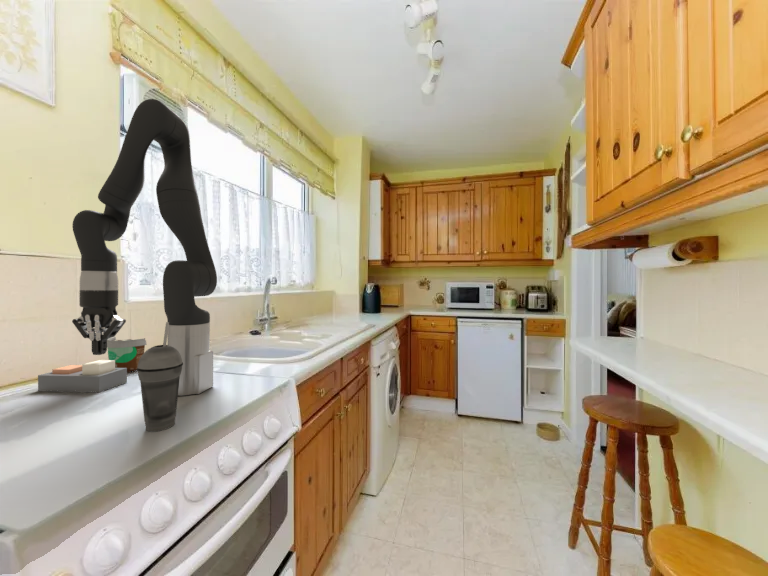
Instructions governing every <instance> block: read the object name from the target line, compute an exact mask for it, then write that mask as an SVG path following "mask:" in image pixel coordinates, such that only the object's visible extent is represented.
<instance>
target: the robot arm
mask: <svg viewBox="0 0 768 576" xmlns="http://www.w3.org/2000/svg"><path fill="white" fill-rule="evenodd" d="M190 137H191V136H190V131H189V128H188V125H187V124H186V122H185V121H184V119H183V118H182V117H180V116H179V115H178V114H177V113H176V112H174V111H173V110H172V109H171V108H170V107H169V106H167V105H166V104H165V103H163V102H162V101H160V100H158V99H156V98H155V99H154V98H148V99H145V100H143V101H142V102H140V104H139V105H137V107H136V109H135V111H134V112H133V115H132V117H131V120H130V122H129V125H128V128H127V131H126V133H125V137H124V139H123V142H122V145H121V148H120V151H119V155H118V157H117V160H116V161H115V164H114V167H113V169H112V170H111V172H110V174H109V175H108V177H107V178H106V180H105V182H104V183H103V185H102V187H101V189H100V190H99V192H98V195H97V199H98V200H99V202H101V204H103V205H104V211H103V213H102V212H98V211H95V210H92V209H91V210H90V209H88V210H87V209H84V210H81V211H79V212H78V213H77V214H76V215H75V216H74V218H73V220H72V232H73V236H74V238H75V241H76V245H77V248H78V250H79V252H80V255H81V256H80V257H81V258H80V259H81V260H80V270H81V271H80V276H79V307H80V308H82V310H81V312H80V316H79V317H78V318H74V319H72V324H73V325H74V327H75V329H76V330H77V331H78V333H80V335H81V336H82V337H83V338H84V339H89V340H90V341H91V353H92V355H93V356H100V355H105V354H106V353H107V352H108V349H107V339H109V338H113V337H116V335H117V334H118V333H119V332H120V330H121V329H122V328H123V326H124V325H125V323H126V322H127V320H126V318H121V317H120V316H118V311H117V310H116V308H117V306H118V305H119V278H118V255H117V253H116V252H115V251H114V250H112V249H109V247H107V245H106V244H107V243H106V242H114V241H116V240H119V239H120V238H121V237H123V235H124V234H125V232H126V230H127V227H128V223H129V219H130V216H131V215H130V214H131V209H132V207H133V205H134V204H135V202H136V201H137V199H138V197H139V196H140V194H141V192H142V190H143V188H144V186H145V180H146V179H145V178H146V173H145V171H146V169H145V168H146V158H147V157H146V156H147V153H148V150H149V148H150V146H151V144H152V142H153V141H155V142H156V143H157V144H158V145H159V146H160V148H161V152H162V156H163V157H162V158H163V161H164V162H163V163H164V167H163V170H162V172H161V174H160V176H159V178H158V180H157V183H156V188H155V190H156V191H155V192H156V198H157V204H158V210H159V213H160V216H161V218H162V219H163V221H164V223H165V224H166V225H167V227H168V229H170V232H172V233H173V235H174V236H175V237H176V238H177V240H178V241H179V242H180V245H181V246H182V248H183V252H184V254H185V257H186V260H183V259H182V260H181V259H180V260H177V259H176V260H172V261H171V262H169V263H168V264H167V265H166V267H165V268H164V271H163V275H162V289H163V290H162V293H163V308H164V313H165V316H166V318H167V322H169V327H168V335H167V343H166V345H169V346H172V347H174V348H175V349H177V350H178V351H179V353H180V355H181V357H182V362H183V365H182V371H181V375H180V379H179V389H178V396H188V395H189V396H190V395H195V394H196V395H199V394H202V393H204V392H205V391H207V390H208V389H210V388H212V387H214V351H213V350H210V349H211V348H210V346H211V345H210V341H211V339H210V337H211V335H210V334H211V333H210V331H211V329H210V328H211V323H210V322H211V317H210V316H211V315H210V312H209V311H207V310H205V309H202V308H201V307H199V306H197V304H196V301H195V297H197V298H198V297H207V296H210V295H212V294H213V293H214V292H215V291H216V288H217V286H218V284H217V283H218V275H217V270H216V269H217V268H216V267H215V264H214V260H213V257H212V254H211V250H210V247H209V244H208V239H207V236H206V232H205V227H204V222H203V217H202V212H201V204H200V200H199V194H198V190H197V187H196V181H195V175H194V170H193V164H192V155H191V140H190V139H191V138H190Z"/></svg>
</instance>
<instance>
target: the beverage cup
mask: <svg viewBox="0 0 768 576" xmlns="http://www.w3.org/2000/svg"><path fill="white" fill-rule="evenodd" d="M168 327H169V322H168V321H165V326H164V336H163V341H162V342H163V343H162V344H159V345H153V346H151V347H150V348H148V349H147V350H144V354H143V355H142V356H141V358H140V360H139V363H138V367H137V371H136V372H137V376H138V379H139V382H140V390H141V401H142V410H143V419H144V424H145V425H144V426H145V430H146V432H160V431H165V430H168V429H169V428H171V427H173V426H174V425H175V423H176V422H175V420H176V417H177V409H178V408H177V407H178V398H179V397H178V389H179V379H180V375H181V371H182V365H183V362H182V357H181V355H180V353H179V351H178V350H177V349H175V348H174V347H172V346H169V345H167V343H168Z"/></svg>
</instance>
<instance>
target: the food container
mask: <svg viewBox="0 0 768 576" xmlns="http://www.w3.org/2000/svg"><path fill="white" fill-rule="evenodd" d="M145 346H147V340H146V338H138V339H132V338H131V339H130V338H129V339H117V338H116V336H114V337H111V338H109V339H107V355H108V357H107V358H108V360H115V368H127V373H132V372H131V371H133V372H137V371H136V370H137V367H138V363H139V360H140V358H141V356H142V355H143V354H144V353H145Z"/></svg>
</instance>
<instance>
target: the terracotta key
mask: <svg viewBox="0 0 768 576" xmlns="http://www.w3.org/2000/svg"><path fill="white" fill-rule="evenodd" d="M80 371H82V364H70V365H65V366H61V367H57V368H53V369H52V371H51V372H52V374H72V373H76V372H80Z"/></svg>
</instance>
